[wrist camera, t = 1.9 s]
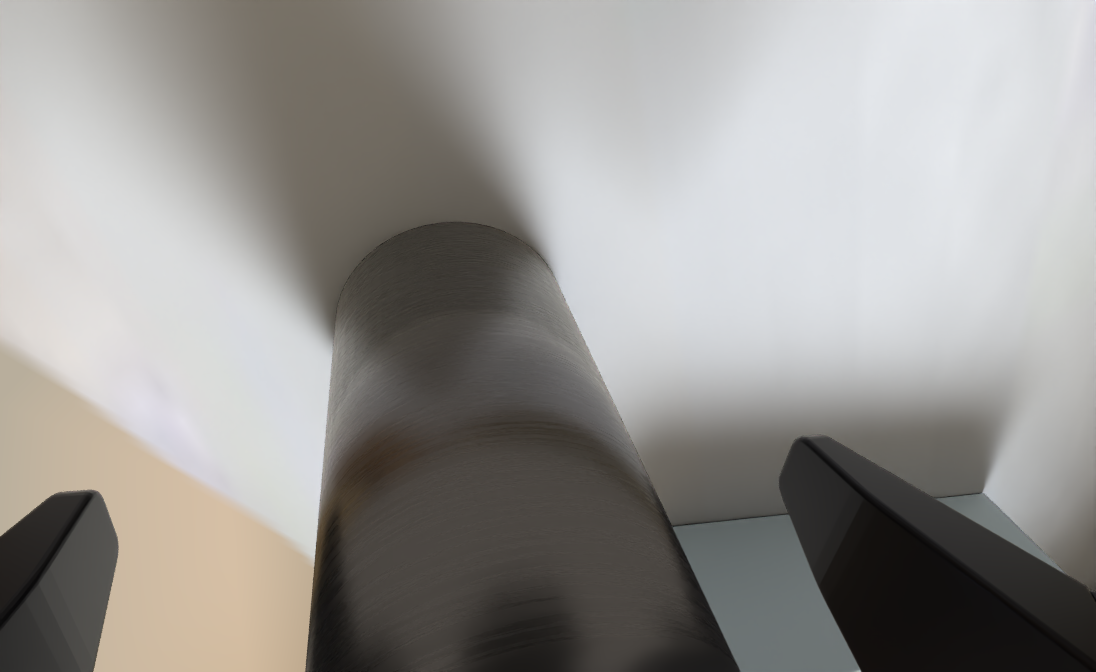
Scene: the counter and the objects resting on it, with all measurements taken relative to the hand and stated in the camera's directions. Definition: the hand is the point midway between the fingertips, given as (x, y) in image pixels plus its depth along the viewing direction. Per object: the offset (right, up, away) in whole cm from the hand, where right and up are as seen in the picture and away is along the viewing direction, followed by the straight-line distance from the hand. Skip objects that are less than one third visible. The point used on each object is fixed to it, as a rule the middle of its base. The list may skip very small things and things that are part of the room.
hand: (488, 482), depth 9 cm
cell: (-1, +2, +3) cm, 4 cm away
